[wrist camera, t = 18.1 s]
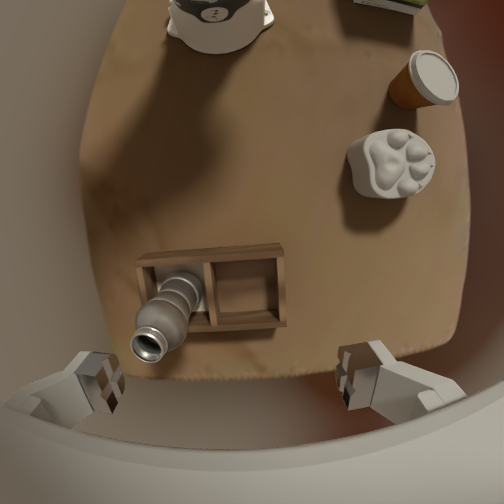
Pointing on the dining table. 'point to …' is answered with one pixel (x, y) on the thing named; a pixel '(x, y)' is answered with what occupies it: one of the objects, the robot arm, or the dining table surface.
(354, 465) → the robot arm
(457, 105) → the dining table surface
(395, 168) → the lumpy-topped squat cylinder
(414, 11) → the tea box
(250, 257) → the bottle carrier
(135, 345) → the metal bottle
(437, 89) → the disposable coffee cup
